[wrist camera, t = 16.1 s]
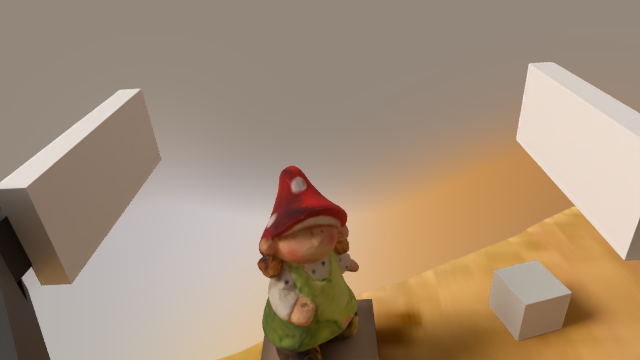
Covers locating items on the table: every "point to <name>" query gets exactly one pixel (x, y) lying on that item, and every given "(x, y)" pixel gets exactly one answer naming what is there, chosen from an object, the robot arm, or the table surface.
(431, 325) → the table surface
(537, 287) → the grey cube
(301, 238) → the figurine
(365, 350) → the pedestal
